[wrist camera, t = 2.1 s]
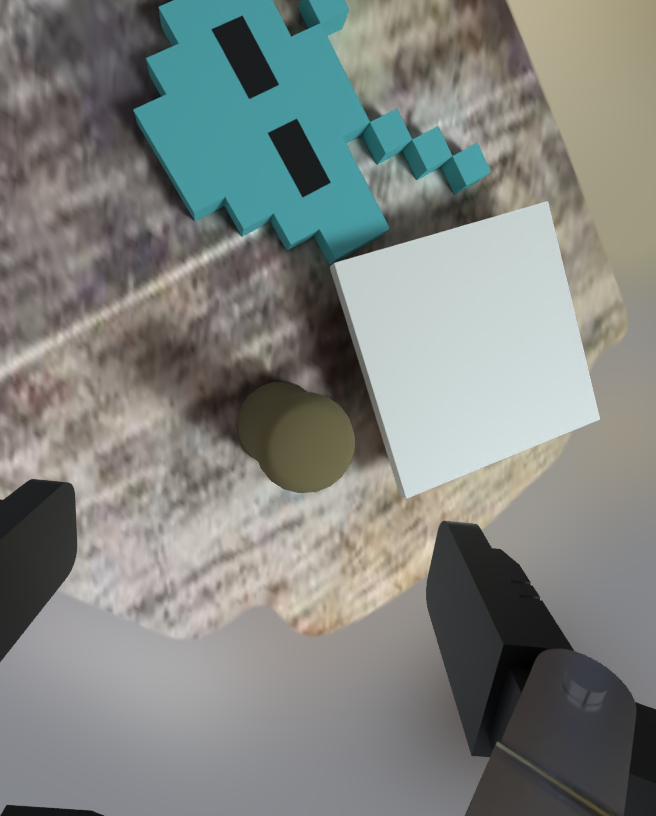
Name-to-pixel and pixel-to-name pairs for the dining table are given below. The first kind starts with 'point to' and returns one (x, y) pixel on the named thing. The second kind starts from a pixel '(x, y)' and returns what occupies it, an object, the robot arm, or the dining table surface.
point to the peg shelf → (467, 345)
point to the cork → (296, 436)
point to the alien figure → (276, 124)
